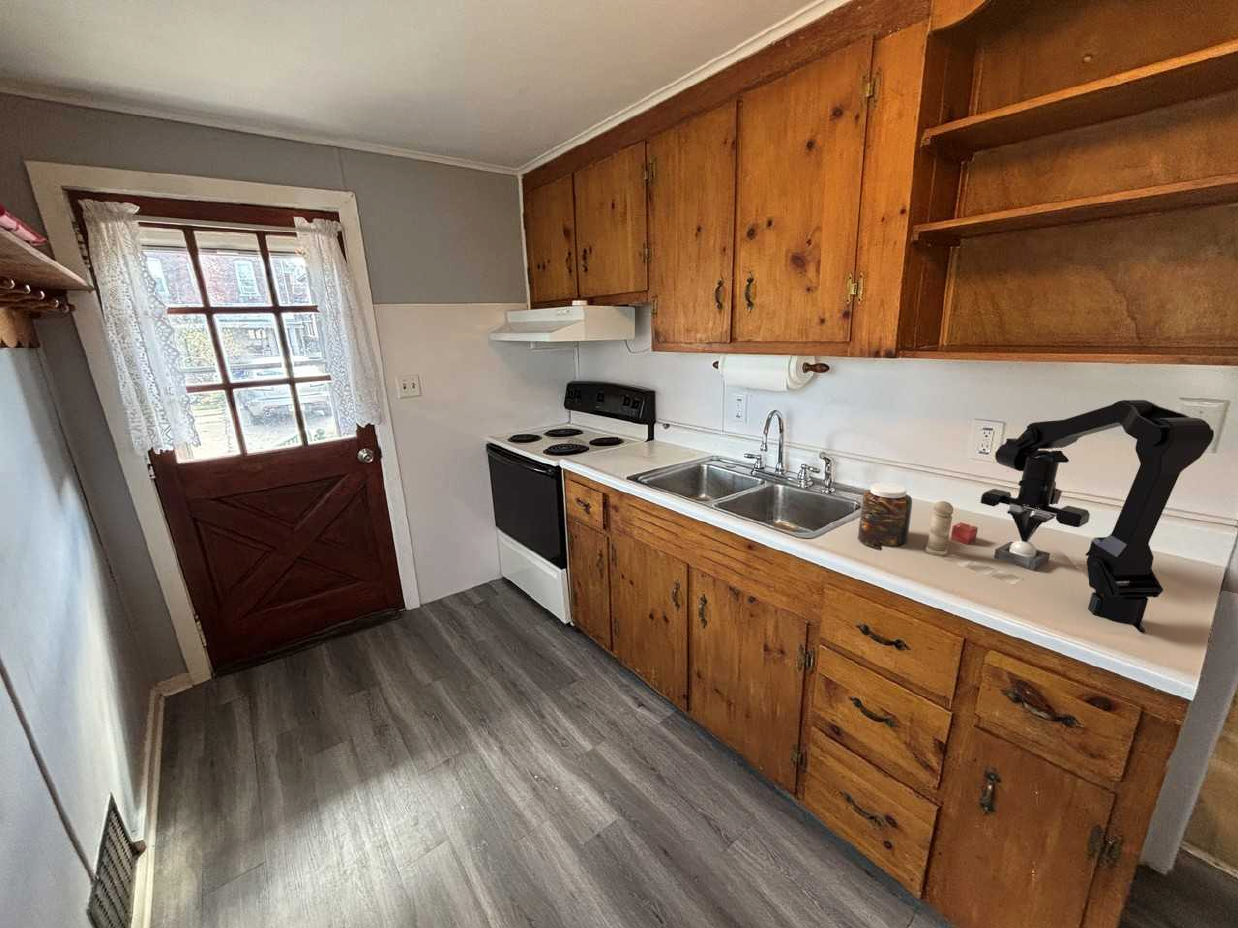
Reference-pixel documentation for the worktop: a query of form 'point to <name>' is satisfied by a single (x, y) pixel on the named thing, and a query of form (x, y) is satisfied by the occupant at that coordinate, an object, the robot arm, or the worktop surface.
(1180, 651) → the worktop surface
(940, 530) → the pawn
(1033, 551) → the dome
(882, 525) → the jar
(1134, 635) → the worktop surface
